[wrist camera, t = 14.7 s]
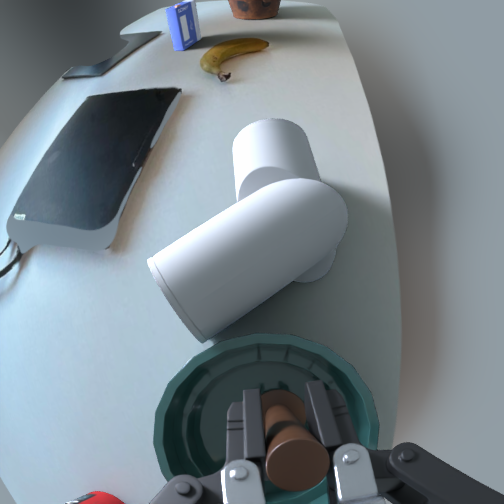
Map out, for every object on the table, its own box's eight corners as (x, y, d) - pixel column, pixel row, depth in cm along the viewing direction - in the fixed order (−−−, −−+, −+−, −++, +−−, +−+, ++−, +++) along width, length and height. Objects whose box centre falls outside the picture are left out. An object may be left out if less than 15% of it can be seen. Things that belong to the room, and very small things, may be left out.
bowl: (359, 345, 25) (382, 335, 20) (345, 502, 18) (363, 526, 13) (185, 336, 27) (165, 323, 21) (172, 492, 19) (151, 514, 14)
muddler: (305, 389, 22) (371, 399, 8) (301, 437, 20) (357, 514, 6) (252, 387, 22) (231, 398, 8) (248, 435, 21) (222, 516, 6)
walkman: (183, 50, 52) (175, 7, 42) (174, 50, 53) (164, 8, 42) (202, 38, 55) (195, -3, 44) (193, 38, 56) (186, -2, 45)
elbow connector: (365, 326, 25) (322, 160, 33) (384, 299, 15) (312, 91, 24) (188, 353, 28) (186, 194, 37) (123, 338, 19) (145, 141, 28)
